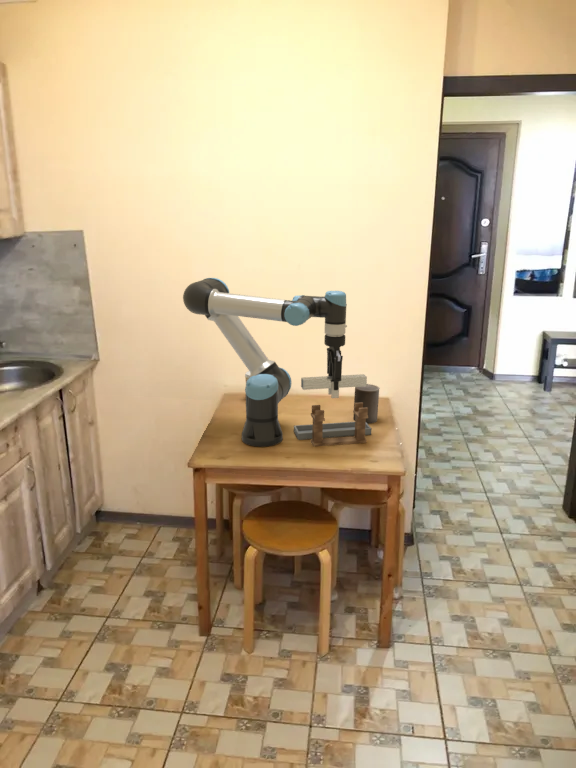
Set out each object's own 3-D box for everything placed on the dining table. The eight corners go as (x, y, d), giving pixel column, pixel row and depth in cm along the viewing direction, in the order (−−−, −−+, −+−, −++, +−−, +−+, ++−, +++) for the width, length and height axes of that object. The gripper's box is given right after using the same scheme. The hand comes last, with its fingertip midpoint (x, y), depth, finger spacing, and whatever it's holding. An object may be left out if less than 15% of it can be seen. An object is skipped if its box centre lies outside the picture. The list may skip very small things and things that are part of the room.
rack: (313, 447, 220) (314, 411, 215) (309, 440, 226) (310, 405, 222) (367, 443, 223) (369, 408, 219) (362, 437, 229) (363, 402, 225)
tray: (298, 439, 227) (298, 433, 226) (293, 431, 234) (293, 425, 233) (371, 434, 232) (371, 428, 231) (364, 426, 239) (364, 420, 238)
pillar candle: (355, 423, 242) (356, 387, 238) (351, 415, 252) (353, 380, 247) (379, 424, 243) (381, 388, 238) (375, 415, 252) (377, 380, 247)
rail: (303, 389, 223) (303, 380, 222) (301, 386, 227) (301, 377, 226) (366, 386, 228) (366, 376, 227) (363, 383, 231) (363, 374, 230)
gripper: (351, 339, 214) (349, 402, 221) (339, 329, 230) (337, 388, 237) (330, 340, 213) (329, 403, 220) (319, 329, 229) (318, 389, 236)
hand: (333, 395), depth 228 cm, fingers closed on rail, 4 cm apart
